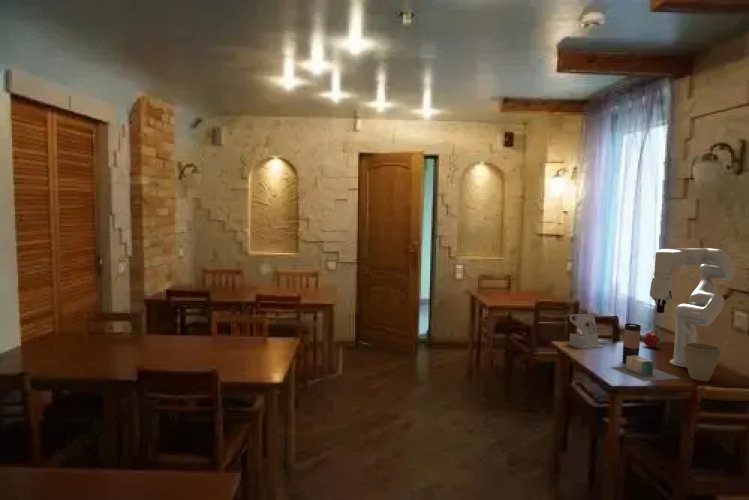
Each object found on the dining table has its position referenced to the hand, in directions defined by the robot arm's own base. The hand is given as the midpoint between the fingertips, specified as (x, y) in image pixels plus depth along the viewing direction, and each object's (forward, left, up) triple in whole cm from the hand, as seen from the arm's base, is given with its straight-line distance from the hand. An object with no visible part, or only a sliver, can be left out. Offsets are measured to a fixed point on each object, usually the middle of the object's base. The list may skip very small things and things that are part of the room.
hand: (660, 312), depth 277 cm
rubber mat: (+13, +6, -29) cm, 32 cm away
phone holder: (+4, -48, -29) cm, 57 cm away
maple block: (+13, +8, -25) cm, 29 cm away
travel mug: (+5, -12, -29) cm, 32 cm away
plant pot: (-7, +19, -29) cm, 35 cm away
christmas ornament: (-35, -39, -29) cm, 60 cm away
